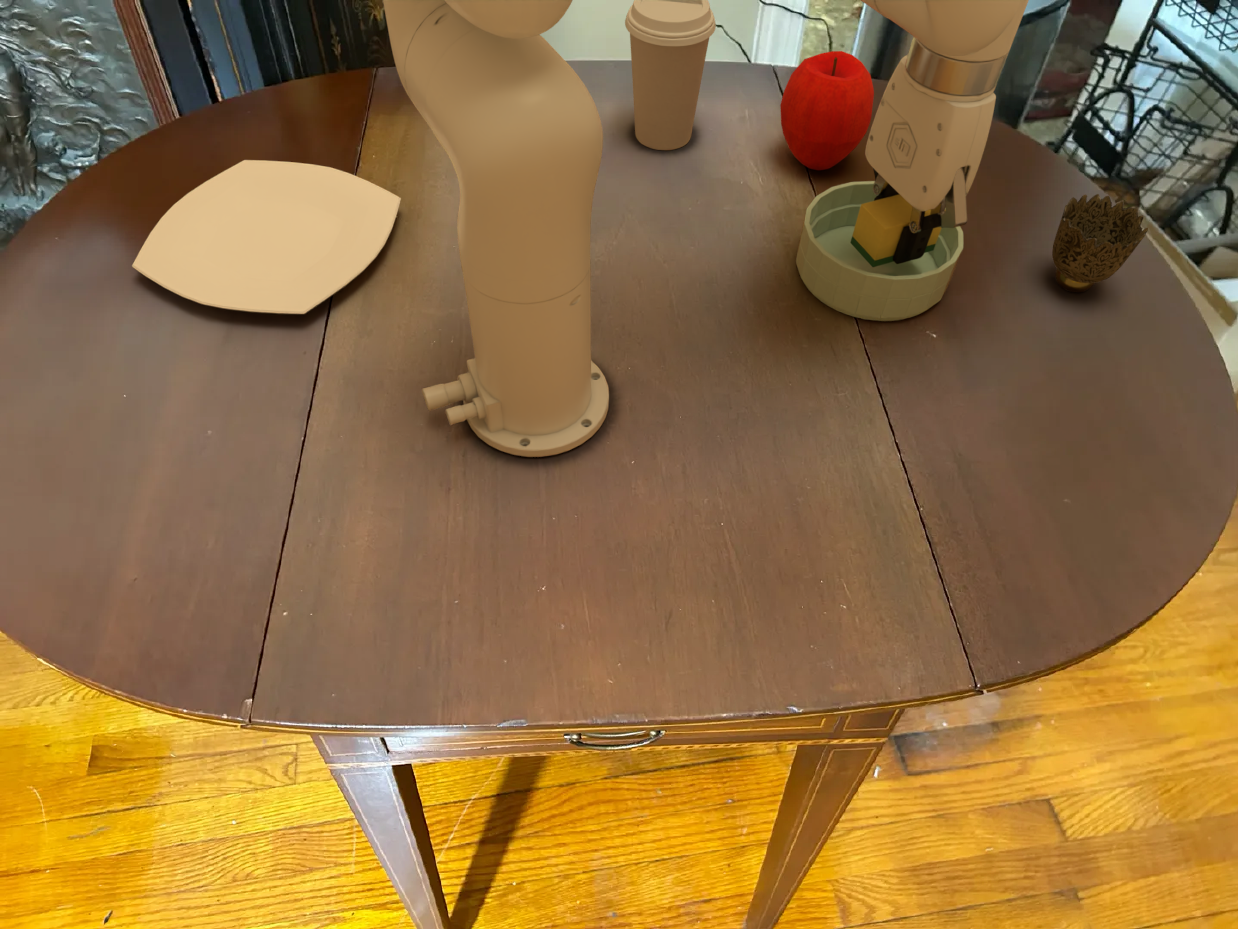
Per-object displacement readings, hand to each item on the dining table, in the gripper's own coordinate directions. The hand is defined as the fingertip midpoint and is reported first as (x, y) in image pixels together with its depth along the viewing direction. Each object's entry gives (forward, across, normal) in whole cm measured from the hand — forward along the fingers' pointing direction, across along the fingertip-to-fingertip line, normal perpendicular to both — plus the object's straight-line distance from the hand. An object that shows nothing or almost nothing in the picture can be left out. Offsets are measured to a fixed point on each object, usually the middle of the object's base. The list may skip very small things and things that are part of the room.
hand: (893, 243), depth 88 cm
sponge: (0, 0, 0) cm, 0 cm away
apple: (+4, -20, +4) cm, 21 cm away
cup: (+4, +8, +17) cm, 19 cm away
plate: (+5, -27, -55) cm, 61 cm away
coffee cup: (+4, -31, -10) cm, 33 cm away
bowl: (+4, -1, -1) cm, 4 cm away
